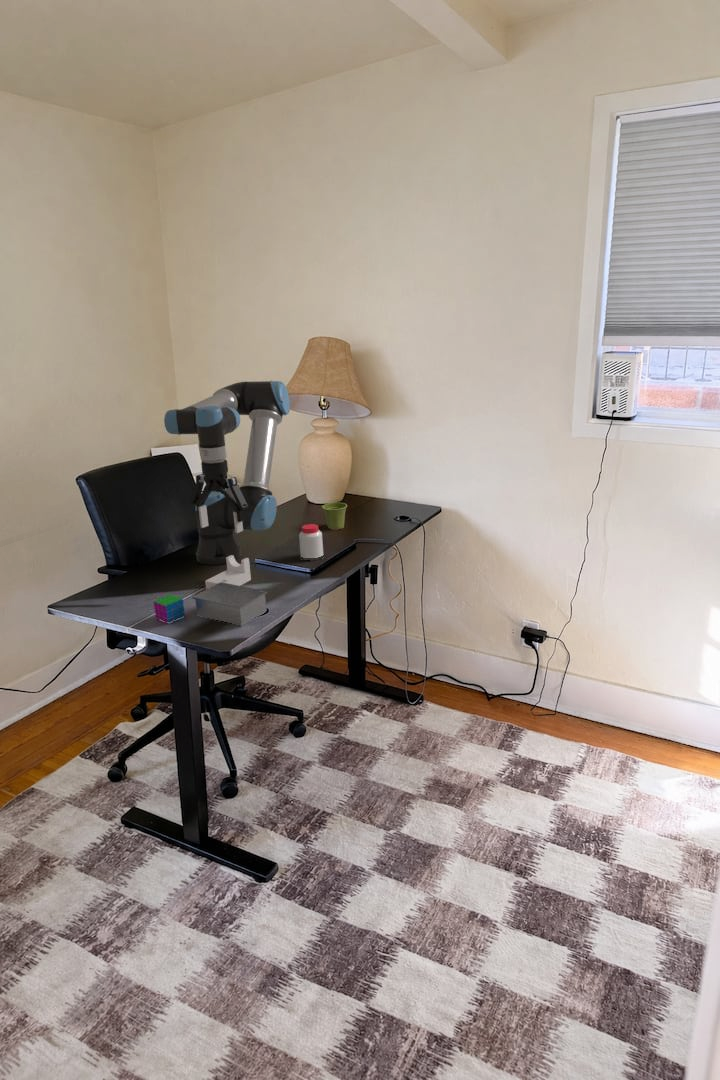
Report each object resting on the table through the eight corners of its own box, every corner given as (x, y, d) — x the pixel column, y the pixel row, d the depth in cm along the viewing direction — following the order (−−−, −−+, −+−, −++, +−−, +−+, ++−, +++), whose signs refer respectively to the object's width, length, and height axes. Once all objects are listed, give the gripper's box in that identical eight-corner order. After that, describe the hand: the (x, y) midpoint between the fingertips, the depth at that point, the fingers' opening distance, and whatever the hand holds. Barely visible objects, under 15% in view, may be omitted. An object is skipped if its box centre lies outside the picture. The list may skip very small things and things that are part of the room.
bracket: (233, 577, 235) (231, 555, 232) (251, 580, 231) (248, 558, 229) (206, 591, 224) (203, 568, 222) (224, 595, 221) (221, 572, 218)
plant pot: (345, 531, 273) (344, 509, 270) (321, 531, 274) (319, 509, 272) (350, 524, 281) (349, 502, 279) (326, 524, 283) (324, 502, 280)
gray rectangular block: (194, 616, 206) (192, 597, 204) (222, 600, 216) (220, 582, 214) (242, 627, 198) (239, 607, 196) (269, 610, 207) (267, 591, 205)
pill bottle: (320, 561, 244) (318, 530, 240) (298, 561, 245) (295, 529, 242) (326, 553, 251) (324, 523, 247) (304, 553, 252) (302, 522, 249)
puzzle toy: (185, 617, 206) (182, 598, 204) (168, 624, 202) (165, 605, 200) (173, 613, 209) (170, 594, 208) (156, 620, 205) (153, 601, 204)
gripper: (173, 460, 217) (182, 528, 224) (239, 466, 205) (246, 537, 212) (190, 454, 223) (199, 521, 230) (255, 460, 211) (262, 530, 218)
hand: (221, 529), depth 221 cm, fingers open, 13 cm apart
